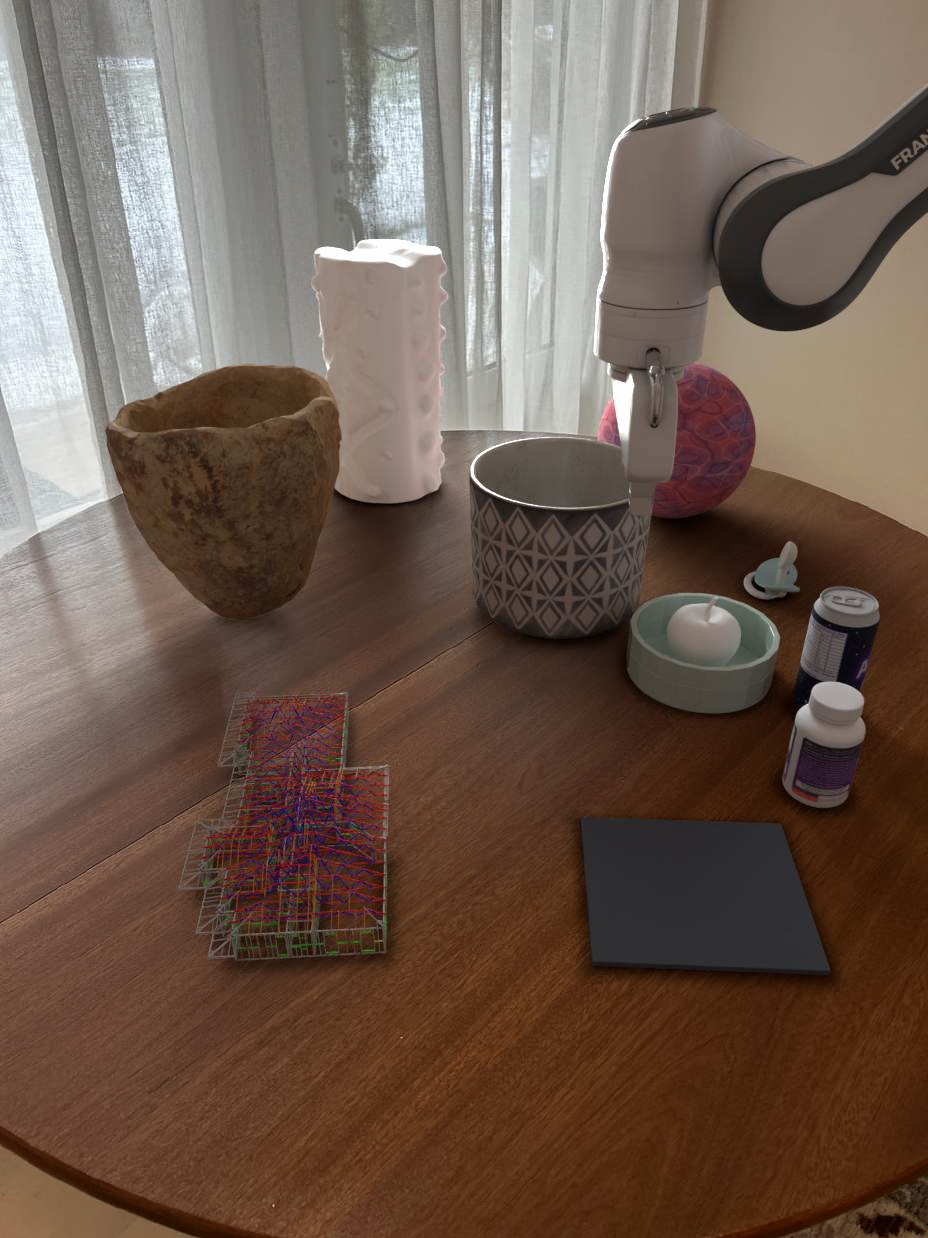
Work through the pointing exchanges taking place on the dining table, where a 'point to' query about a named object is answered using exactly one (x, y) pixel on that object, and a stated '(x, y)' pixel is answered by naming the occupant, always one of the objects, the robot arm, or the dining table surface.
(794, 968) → the mat
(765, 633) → the fruit bowl
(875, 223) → the robot arm
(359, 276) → the vase
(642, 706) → the dining table surface
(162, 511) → the bowl
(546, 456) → the planter
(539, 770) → the dining table surface
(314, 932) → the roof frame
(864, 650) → the beverage can
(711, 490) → the decorative sphere
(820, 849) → the dining table surface
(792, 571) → the pacifier
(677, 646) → the plain white apple
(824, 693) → the pill bottle
